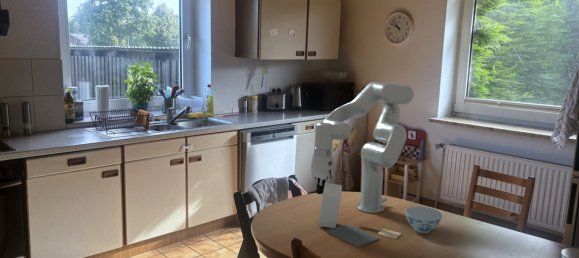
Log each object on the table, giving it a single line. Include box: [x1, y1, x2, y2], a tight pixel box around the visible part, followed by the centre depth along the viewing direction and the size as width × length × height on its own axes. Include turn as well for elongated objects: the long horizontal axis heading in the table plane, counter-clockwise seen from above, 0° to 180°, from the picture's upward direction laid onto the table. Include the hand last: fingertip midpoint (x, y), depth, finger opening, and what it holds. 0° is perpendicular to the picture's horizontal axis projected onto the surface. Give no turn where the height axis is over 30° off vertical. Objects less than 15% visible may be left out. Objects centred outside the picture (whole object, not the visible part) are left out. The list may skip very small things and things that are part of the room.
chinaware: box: [404, 205, 443, 234], centre depth 207 cm, size 15×15×8 cm
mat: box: [326, 223, 380, 248], centre depth 200 cm, size 12×18×1 cm, turn 38°
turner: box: [358, 224, 402, 240], centre depth 205 cm, size 6×17×1 cm, turn 58°
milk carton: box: [318, 182, 343, 229], centre depth 207 cm, size 7×7×19 cm
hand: (320, 193), depth 211 cm, fingers closed
